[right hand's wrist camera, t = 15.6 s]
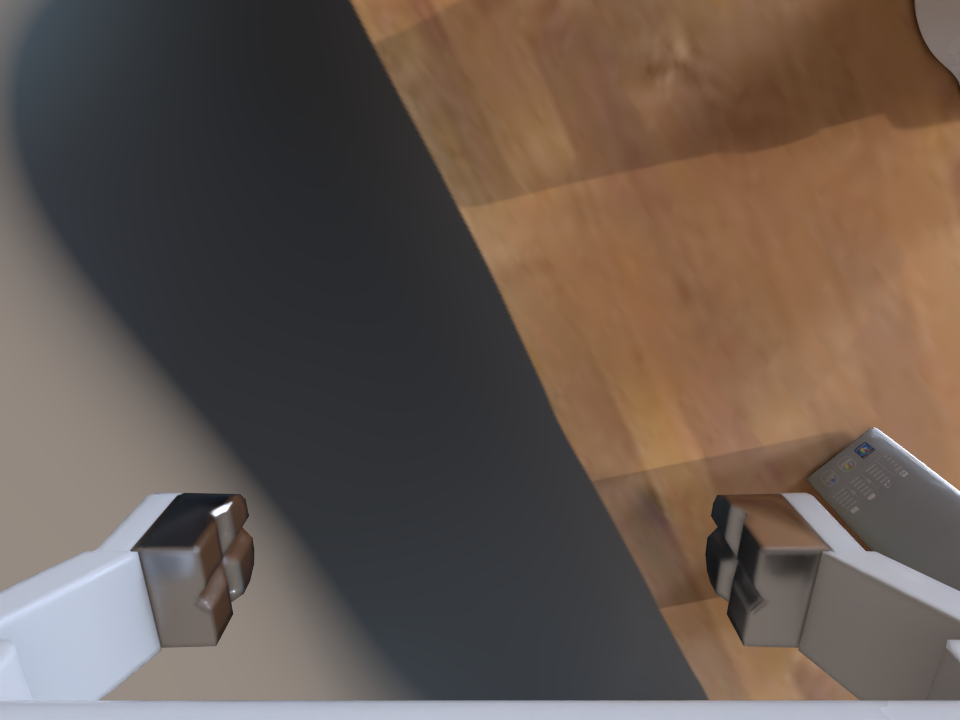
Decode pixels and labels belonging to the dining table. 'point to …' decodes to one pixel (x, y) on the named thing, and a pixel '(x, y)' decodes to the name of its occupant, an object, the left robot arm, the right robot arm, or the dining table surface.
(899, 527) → the hard drive box
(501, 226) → the dining table surface
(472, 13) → the dining table surface
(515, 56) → the dining table surface
